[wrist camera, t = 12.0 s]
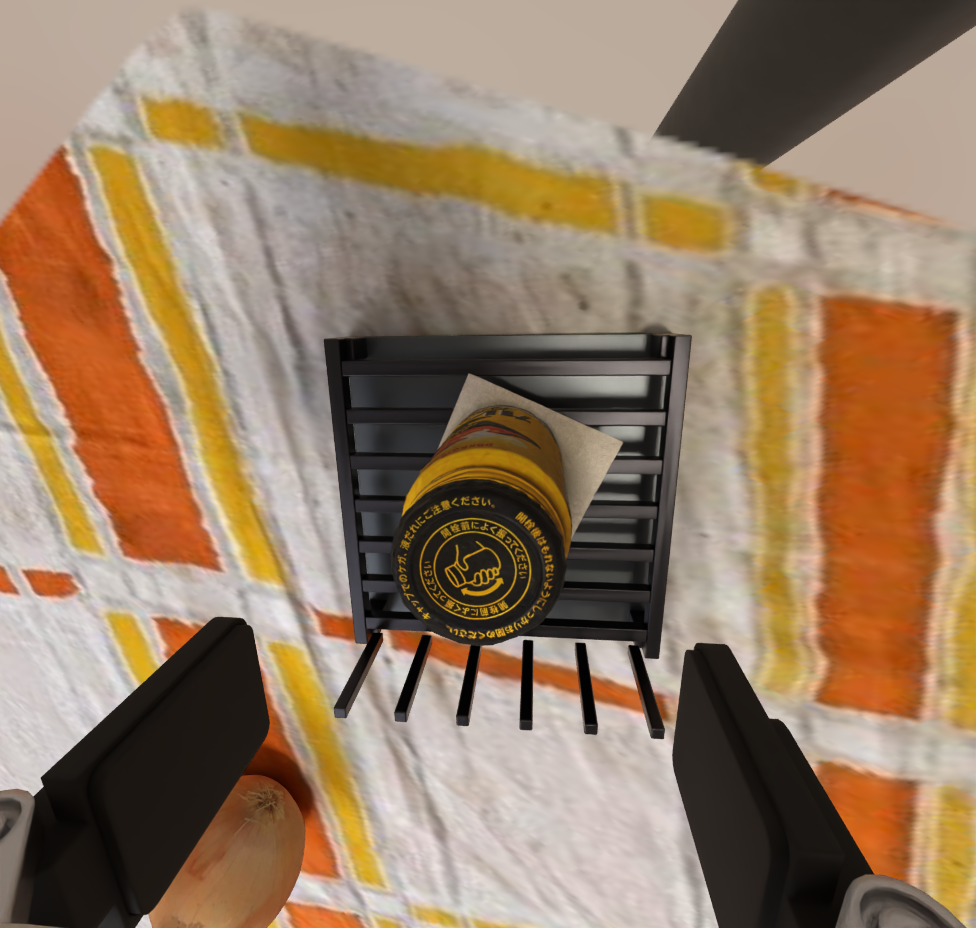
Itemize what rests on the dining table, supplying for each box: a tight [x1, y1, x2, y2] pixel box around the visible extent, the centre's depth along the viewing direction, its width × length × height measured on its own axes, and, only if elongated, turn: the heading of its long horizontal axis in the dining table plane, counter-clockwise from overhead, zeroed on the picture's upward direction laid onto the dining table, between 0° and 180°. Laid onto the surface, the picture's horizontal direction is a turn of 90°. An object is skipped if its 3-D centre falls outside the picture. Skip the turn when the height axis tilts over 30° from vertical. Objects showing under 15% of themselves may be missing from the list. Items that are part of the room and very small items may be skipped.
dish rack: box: [324, 333, 692, 739], centre depth 25 cm, size 18×18×9 cm
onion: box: [148, 775, 305, 928], centre depth 34 cm, size 10×10×10 cm
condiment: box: [391, 374, 623, 646], centre depth 20 cm, size 7×8×12 cm
